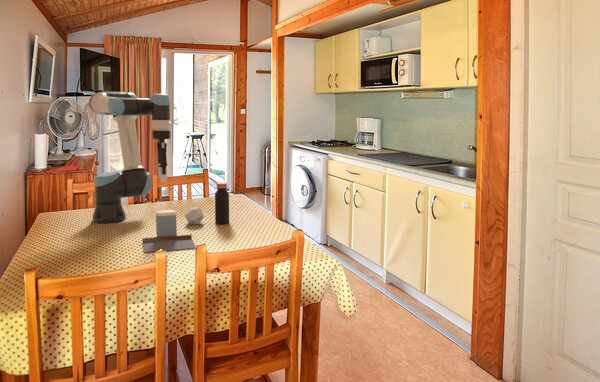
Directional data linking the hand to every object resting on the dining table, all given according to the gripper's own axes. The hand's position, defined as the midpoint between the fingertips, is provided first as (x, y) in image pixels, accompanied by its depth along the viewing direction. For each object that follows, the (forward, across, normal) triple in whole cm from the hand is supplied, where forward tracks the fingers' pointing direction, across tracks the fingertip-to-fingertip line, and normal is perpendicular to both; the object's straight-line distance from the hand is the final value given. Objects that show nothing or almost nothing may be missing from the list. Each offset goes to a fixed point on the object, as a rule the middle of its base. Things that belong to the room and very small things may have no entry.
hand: (162, 179), depth 208 cm
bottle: (+24, +8, -28) cm, 38 cm away
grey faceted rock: (+24, +11, -15) cm, 30 cm away
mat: (+24, -23, 0) cm, 33 cm away
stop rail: (+24, -16, 0) cm, 29 cm away
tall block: (+24, -12, 0) cm, 27 cm away
